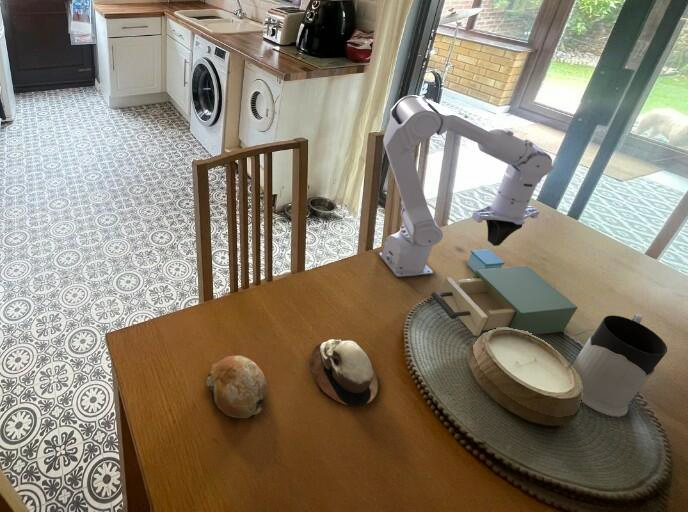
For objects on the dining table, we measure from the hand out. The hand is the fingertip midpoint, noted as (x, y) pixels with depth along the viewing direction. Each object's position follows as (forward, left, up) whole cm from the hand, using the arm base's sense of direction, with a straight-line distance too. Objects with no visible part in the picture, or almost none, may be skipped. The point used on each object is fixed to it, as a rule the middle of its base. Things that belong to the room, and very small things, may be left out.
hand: (493, 242), depth 96 cm
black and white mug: (0, -27, -10) cm, 29 cm away
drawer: (-12, -11, -9) cm, 18 cm away
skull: (-46, -20, -10) cm, 51 cm away
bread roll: (-67, -21, -10) cm, 71 cm away
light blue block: (+1, +1, -10) cm, 10 cm away
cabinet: (-2, -11, -10) cm, 15 cm away
